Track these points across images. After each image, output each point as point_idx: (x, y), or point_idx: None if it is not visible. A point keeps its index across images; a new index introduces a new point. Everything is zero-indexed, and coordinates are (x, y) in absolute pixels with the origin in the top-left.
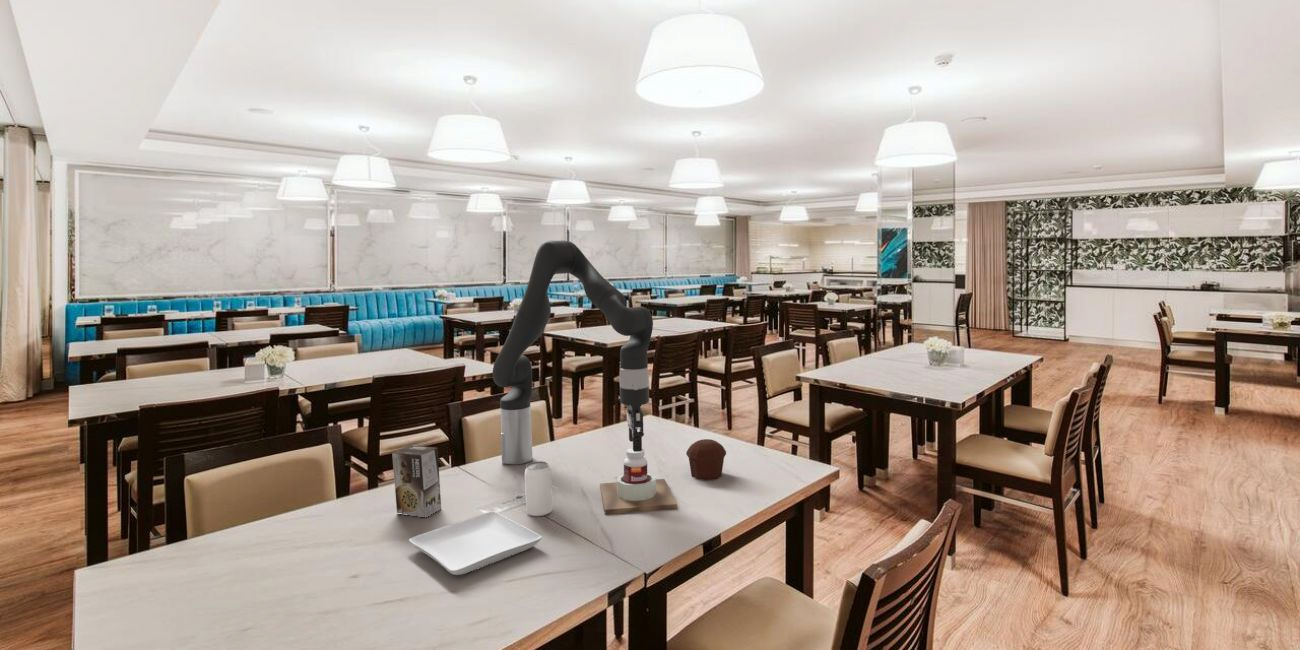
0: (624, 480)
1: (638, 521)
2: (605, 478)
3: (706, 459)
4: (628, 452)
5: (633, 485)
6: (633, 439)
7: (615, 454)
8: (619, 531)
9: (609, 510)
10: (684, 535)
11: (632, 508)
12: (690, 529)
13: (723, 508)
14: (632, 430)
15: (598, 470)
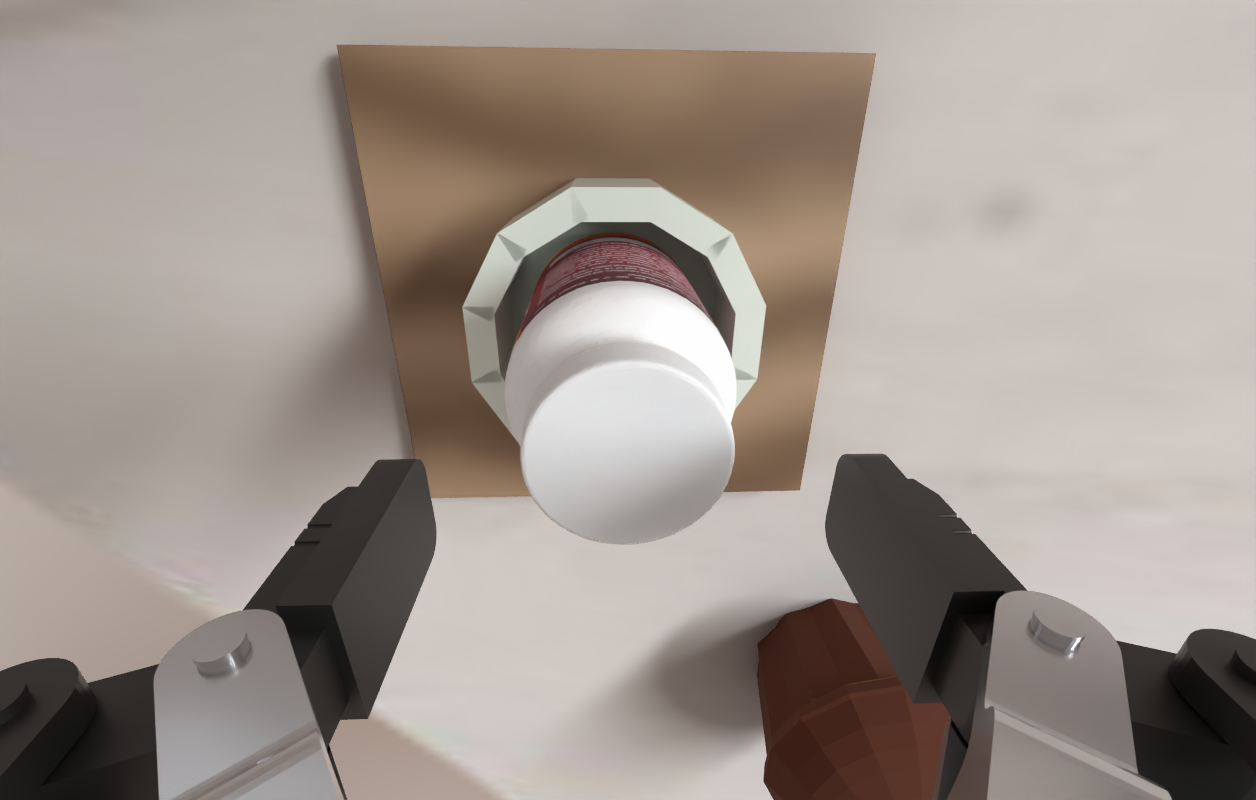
0: (591, 249)
1: (252, 268)
2: (1029, 123)
3: (769, 749)
4: (567, 379)
5: (468, 307)
6: (298, 582)
7: None
8: (83, 129)
9: (346, 84)
10: (103, 467)
11: (380, 254)
12: (178, 500)
13: (422, 647)
14: (176, 750)
15: (1225, 79)
